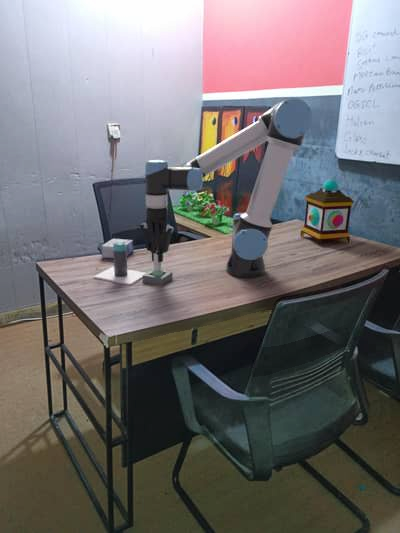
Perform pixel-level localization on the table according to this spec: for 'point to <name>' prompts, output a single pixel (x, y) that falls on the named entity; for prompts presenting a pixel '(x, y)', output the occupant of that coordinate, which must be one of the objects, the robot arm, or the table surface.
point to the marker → (120, 259)
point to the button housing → (157, 277)
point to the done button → (157, 273)
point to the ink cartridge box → (108, 248)
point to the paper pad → (128, 280)
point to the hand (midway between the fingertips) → (157, 269)
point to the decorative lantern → (327, 213)
